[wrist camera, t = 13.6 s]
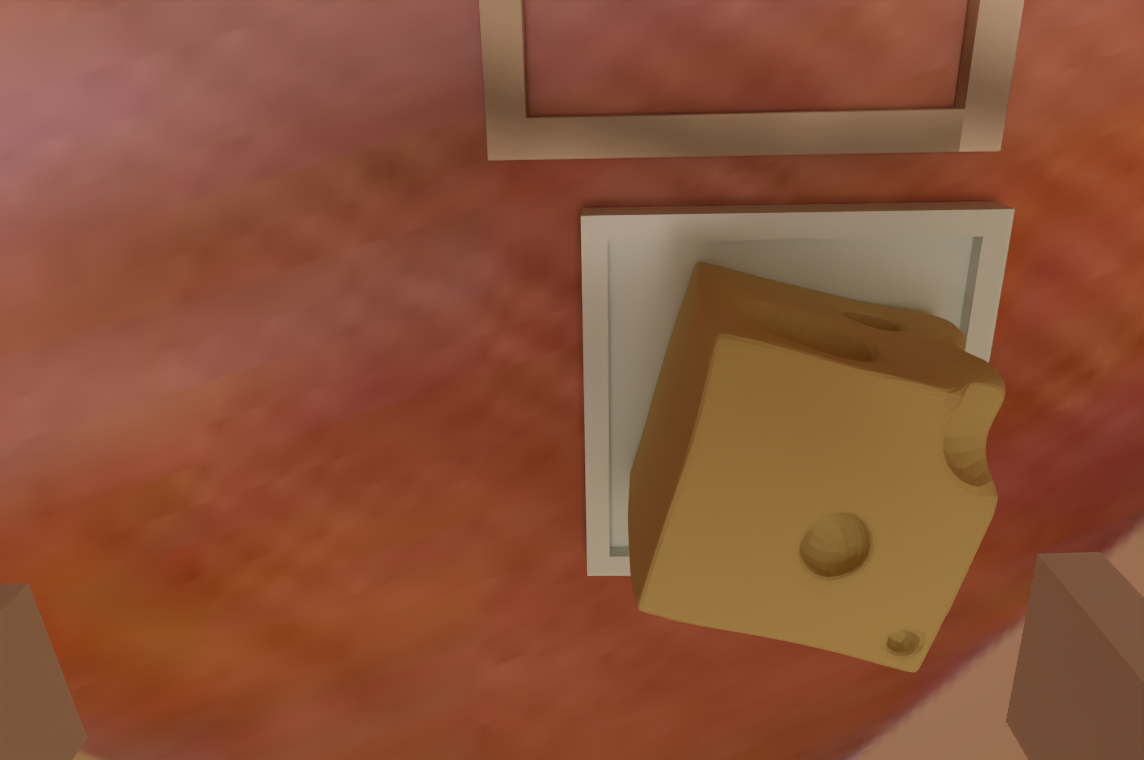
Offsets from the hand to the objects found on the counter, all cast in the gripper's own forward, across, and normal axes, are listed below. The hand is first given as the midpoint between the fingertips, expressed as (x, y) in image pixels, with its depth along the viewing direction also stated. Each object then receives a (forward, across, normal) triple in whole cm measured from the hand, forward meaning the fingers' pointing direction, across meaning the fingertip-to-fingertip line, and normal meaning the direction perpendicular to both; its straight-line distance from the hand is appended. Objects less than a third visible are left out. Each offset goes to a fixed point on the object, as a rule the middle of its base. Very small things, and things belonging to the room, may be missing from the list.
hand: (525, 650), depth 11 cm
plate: (+24, +8, -7) cm, 26 cm away
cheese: (+23, +8, -7) cm, 25 cm away
